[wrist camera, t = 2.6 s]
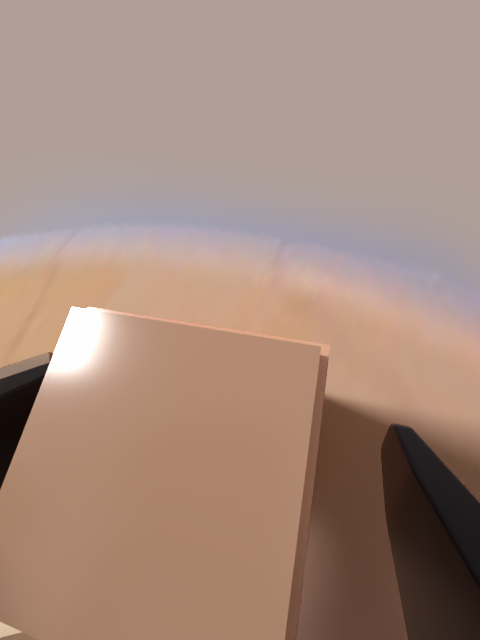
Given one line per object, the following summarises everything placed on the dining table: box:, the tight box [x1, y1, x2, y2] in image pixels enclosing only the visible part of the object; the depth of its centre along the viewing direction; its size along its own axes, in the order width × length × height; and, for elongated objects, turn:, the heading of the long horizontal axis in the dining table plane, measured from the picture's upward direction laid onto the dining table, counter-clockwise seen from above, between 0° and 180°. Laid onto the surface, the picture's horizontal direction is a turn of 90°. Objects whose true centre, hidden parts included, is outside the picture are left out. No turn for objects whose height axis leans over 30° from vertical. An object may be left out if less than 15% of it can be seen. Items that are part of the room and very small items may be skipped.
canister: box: [0, 307, 330, 640], centre depth 9 cm, size 5×5×11 cm
